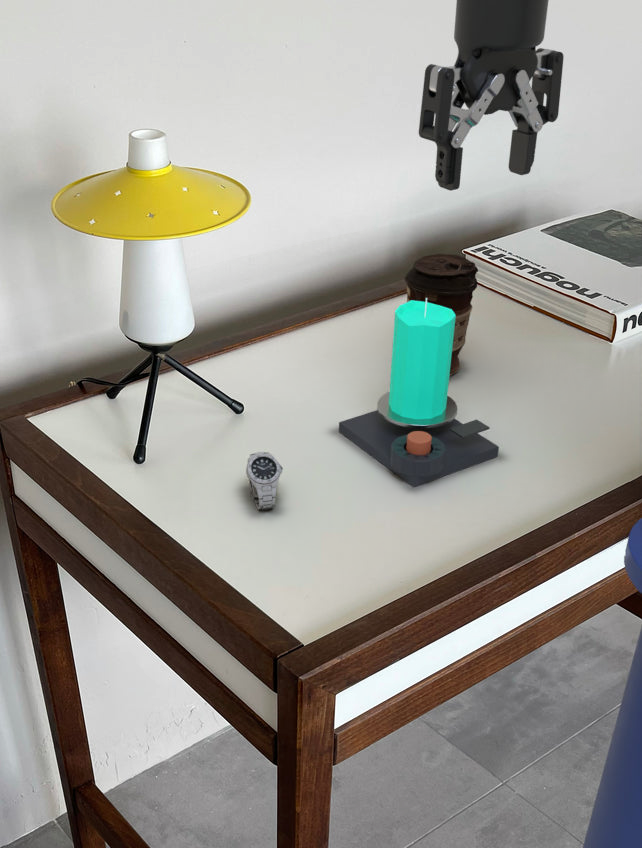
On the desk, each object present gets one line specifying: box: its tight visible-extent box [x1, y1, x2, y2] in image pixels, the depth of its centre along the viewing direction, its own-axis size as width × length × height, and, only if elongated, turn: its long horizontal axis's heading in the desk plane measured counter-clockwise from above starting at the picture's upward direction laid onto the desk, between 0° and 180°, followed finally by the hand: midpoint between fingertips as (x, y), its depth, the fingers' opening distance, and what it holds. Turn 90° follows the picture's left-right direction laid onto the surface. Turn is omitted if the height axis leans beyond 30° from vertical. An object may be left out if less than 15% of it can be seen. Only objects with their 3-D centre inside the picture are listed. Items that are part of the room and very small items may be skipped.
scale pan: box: [376, 390, 491, 438], centre depth 106 cm, size 12×8×1 cm
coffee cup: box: [404, 253, 479, 377], centre depth 118 cm, size 9×8×13 cm
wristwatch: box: [245, 451, 284, 511], centre depth 97 cm, size 4×6×5 cm, turn 12°
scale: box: [338, 409, 500, 488], centre depth 106 cm, size 14×12×3 cm
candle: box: [388, 298, 456, 419], centre depth 103 cm, size 6×6×12 cm
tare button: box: [406, 431, 432, 455], centre depth 100 cm, size 2×2×2 cm
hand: (484, 180), depth 93 cm, fingers open, 8 cm apart
